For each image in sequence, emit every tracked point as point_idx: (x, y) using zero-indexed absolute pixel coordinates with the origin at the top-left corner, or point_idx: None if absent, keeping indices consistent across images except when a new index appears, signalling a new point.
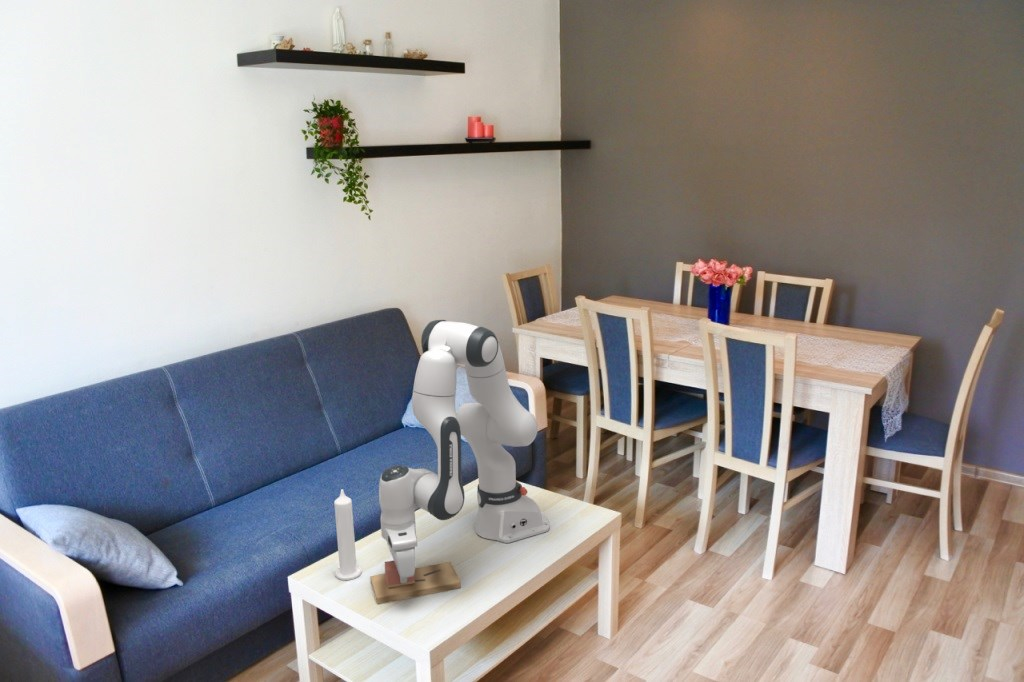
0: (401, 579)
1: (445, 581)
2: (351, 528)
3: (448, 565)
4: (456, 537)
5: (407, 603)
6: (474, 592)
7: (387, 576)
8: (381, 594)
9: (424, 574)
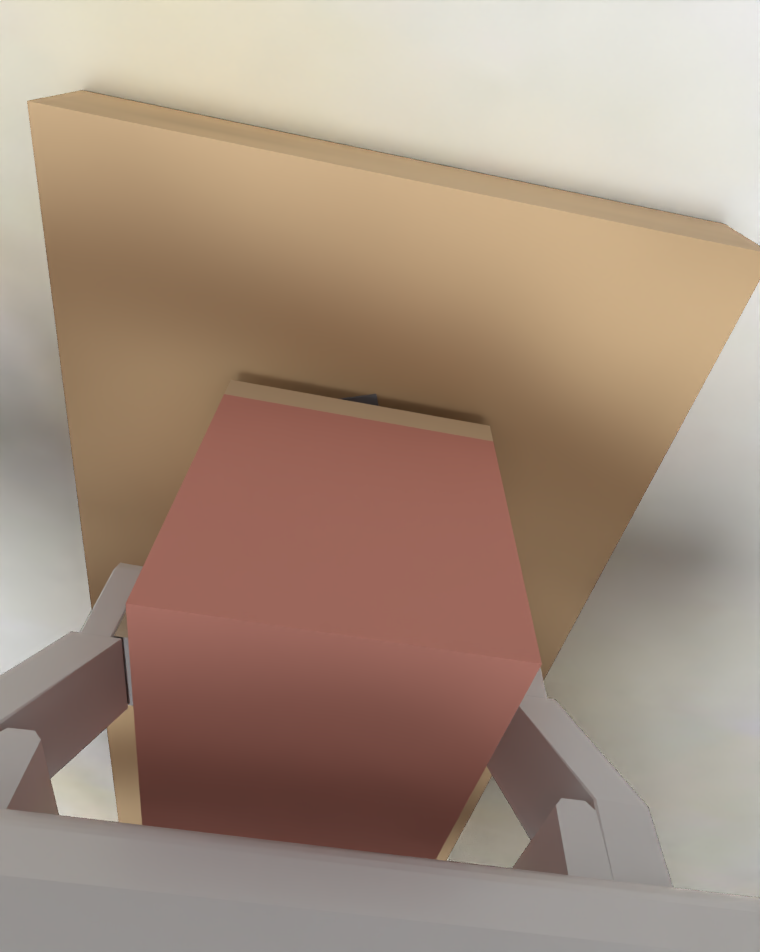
0: (101, 611)
1: None
2: None
3: None
4: None
5: (14, 442)
6: (58, 812)
7: (220, 491)
8: (119, 220)
9: None
